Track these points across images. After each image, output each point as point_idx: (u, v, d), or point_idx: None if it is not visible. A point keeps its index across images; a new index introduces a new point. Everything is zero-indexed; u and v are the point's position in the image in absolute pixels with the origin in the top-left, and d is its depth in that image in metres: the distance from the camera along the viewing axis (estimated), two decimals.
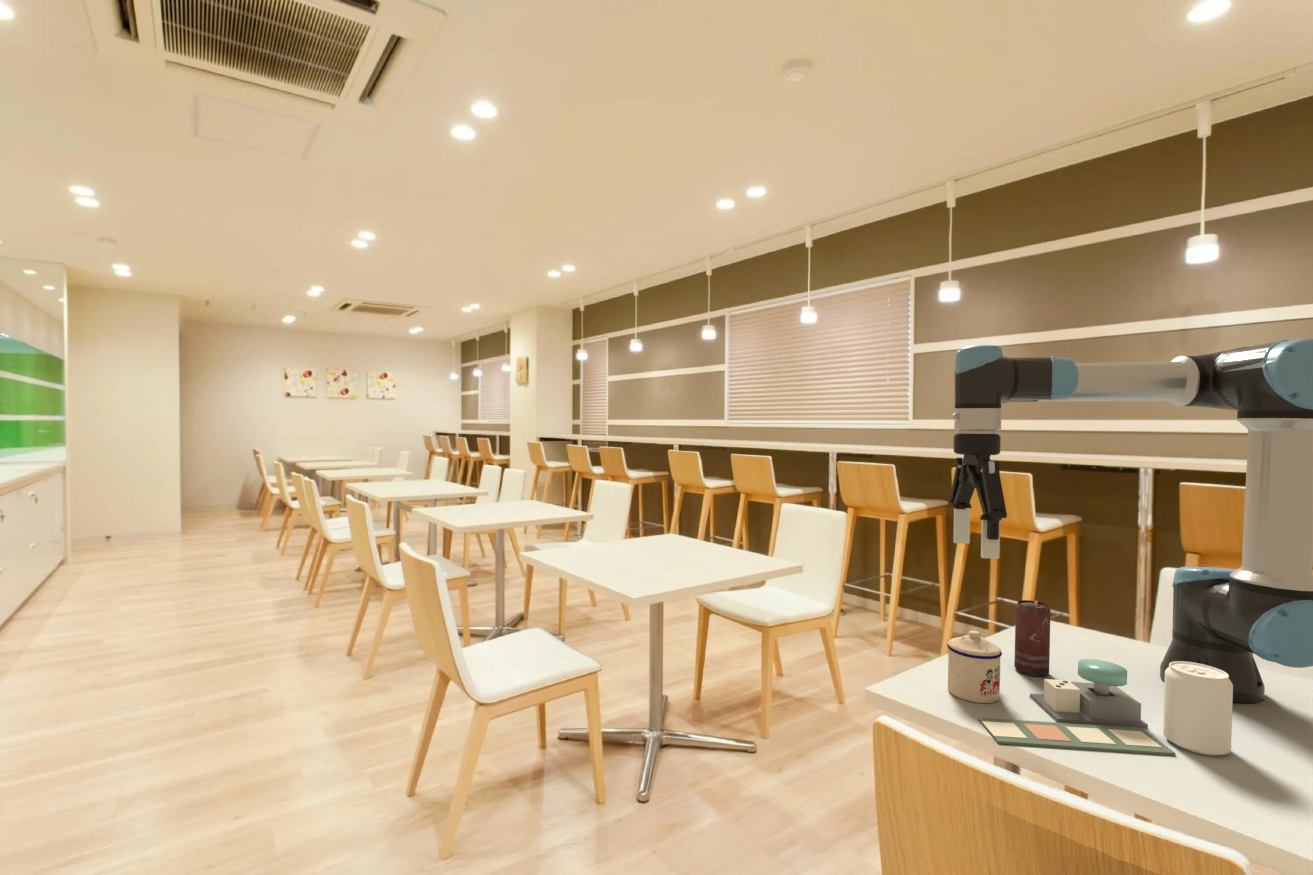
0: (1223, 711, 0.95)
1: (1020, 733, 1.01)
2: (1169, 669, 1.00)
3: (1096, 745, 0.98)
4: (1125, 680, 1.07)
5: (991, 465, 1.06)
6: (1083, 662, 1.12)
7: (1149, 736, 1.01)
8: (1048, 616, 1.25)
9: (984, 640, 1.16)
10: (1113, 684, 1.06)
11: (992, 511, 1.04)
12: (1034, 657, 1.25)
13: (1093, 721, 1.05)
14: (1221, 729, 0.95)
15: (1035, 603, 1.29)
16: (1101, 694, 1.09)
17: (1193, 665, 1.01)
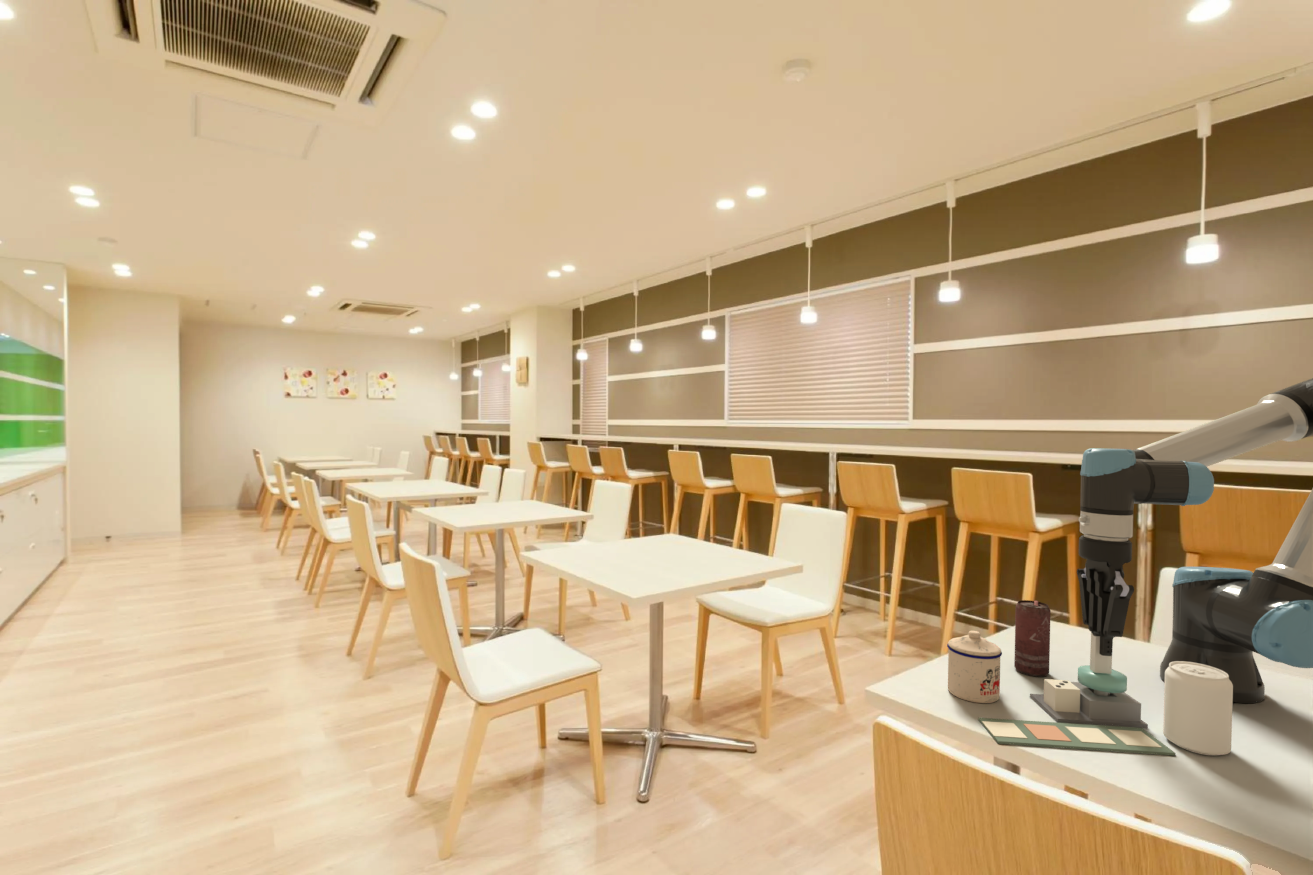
0: (1223, 711, 0.95)
1: (1020, 733, 1.01)
2: (1169, 669, 1.00)
3: (1096, 745, 0.98)
4: (1125, 687, 1.07)
5: (1125, 591, 1.03)
6: (1083, 668, 1.12)
7: (1149, 736, 1.01)
8: (1048, 616, 1.25)
9: (984, 640, 1.16)
10: (1113, 691, 1.06)
11: (1108, 633, 1.06)
12: (1034, 657, 1.25)
13: (1093, 721, 1.05)
14: (1221, 729, 0.95)
15: (1035, 603, 1.29)
16: None
17: (1193, 665, 1.01)
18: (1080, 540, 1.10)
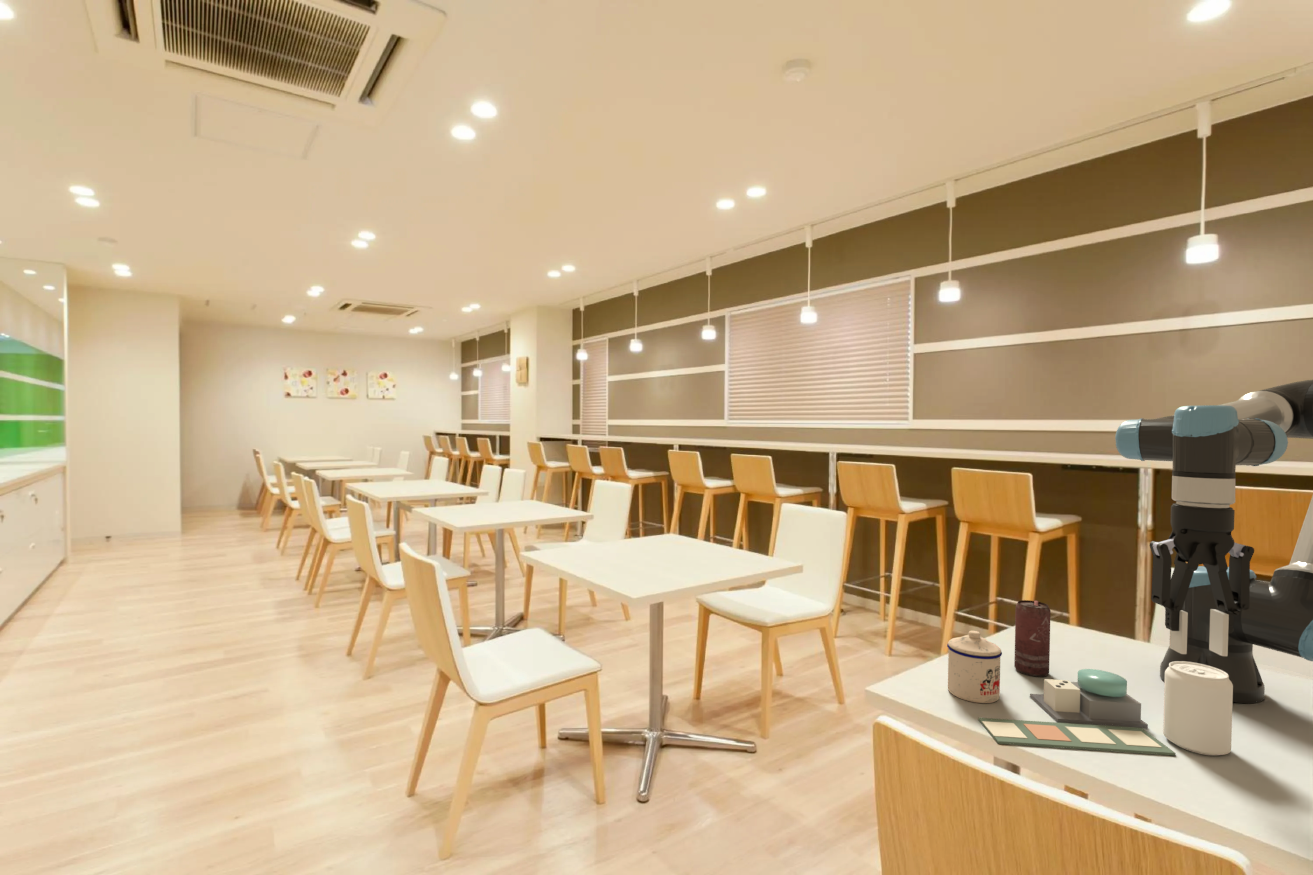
0: (1223, 711, 0.95)
1: (1020, 733, 1.01)
2: (1169, 669, 1.00)
3: (1096, 745, 0.98)
4: (1125, 690, 1.07)
5: (1154, 548, 0.99)
6: (1083, 672, 1.12)
7: (1149, 736, 1.01)
8: (1048, 616, 1.25)
9: (984, 640, 1.16)
10: (1113, 694, 1.06)
11: (1152, 597, 1.00)
12: (1034, 657, 1.25)
13: (1093, 721, 1.05)
14: (1221, 729, 0.95)
15: (1035, 603, 1.29)
16: None
17: (1193, 665, 1.01)
18: None
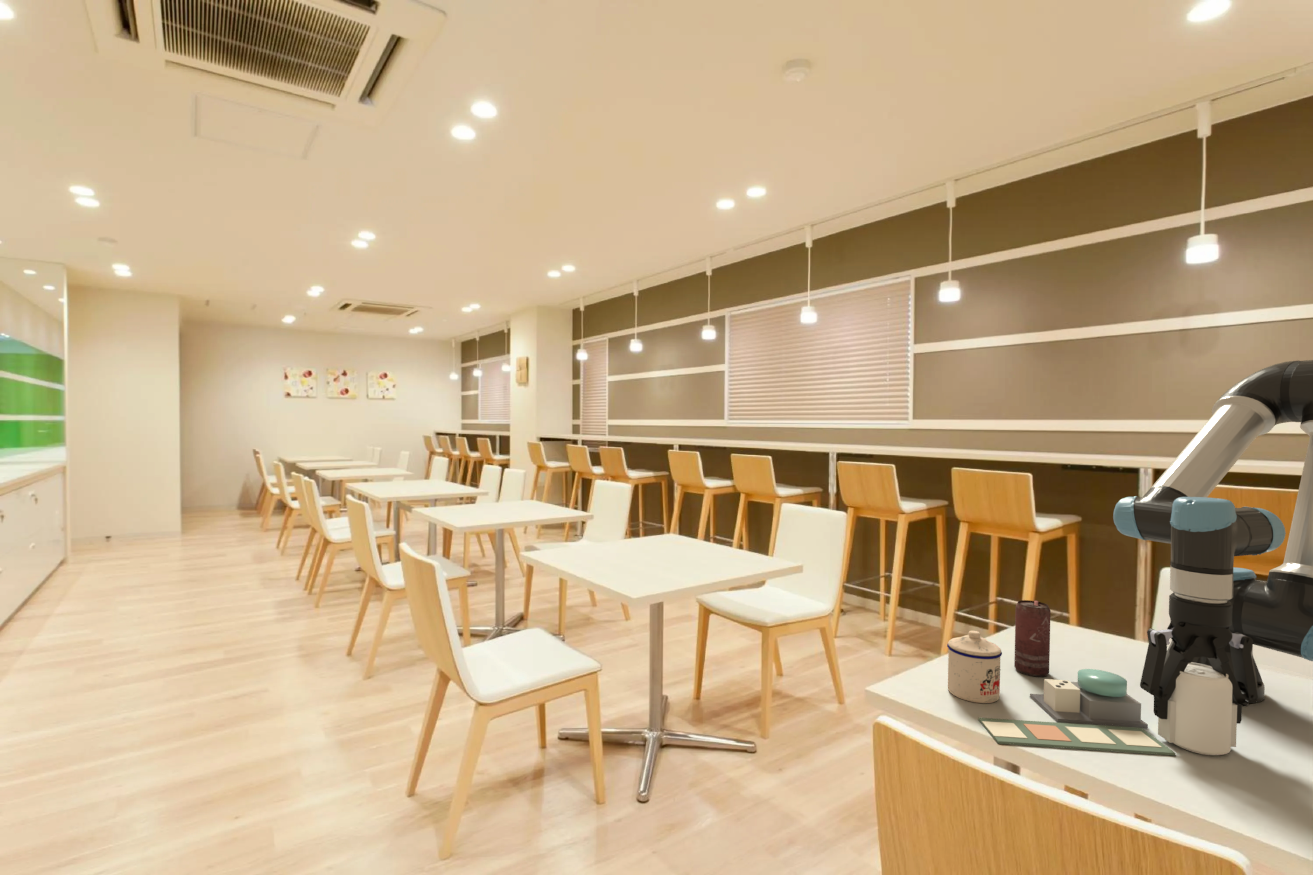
0: (1222, 711, 0.95)
1: (1020, 733, 1.01)
2: None
3: (1096, 745, 0.98)
4: (1125, 690, 1.07)
5: (1152, 635, 0.99)
6: (1083, 672, 1.12)
7: (1149, 736, 1.01)
8: (1048, 616, 1.25)
9: (984, 640, 1.16)
10: (1113, 694, 1.06)
11: (1141, 683, 1.01)
12: (1034, 657, 1.25)
13: (1093, 721, 1.05)
14: (1220, 728, 0.95)
15: (1035, 603, 1.29)
16: None
17: (1193, 665, 1.01)
18: None
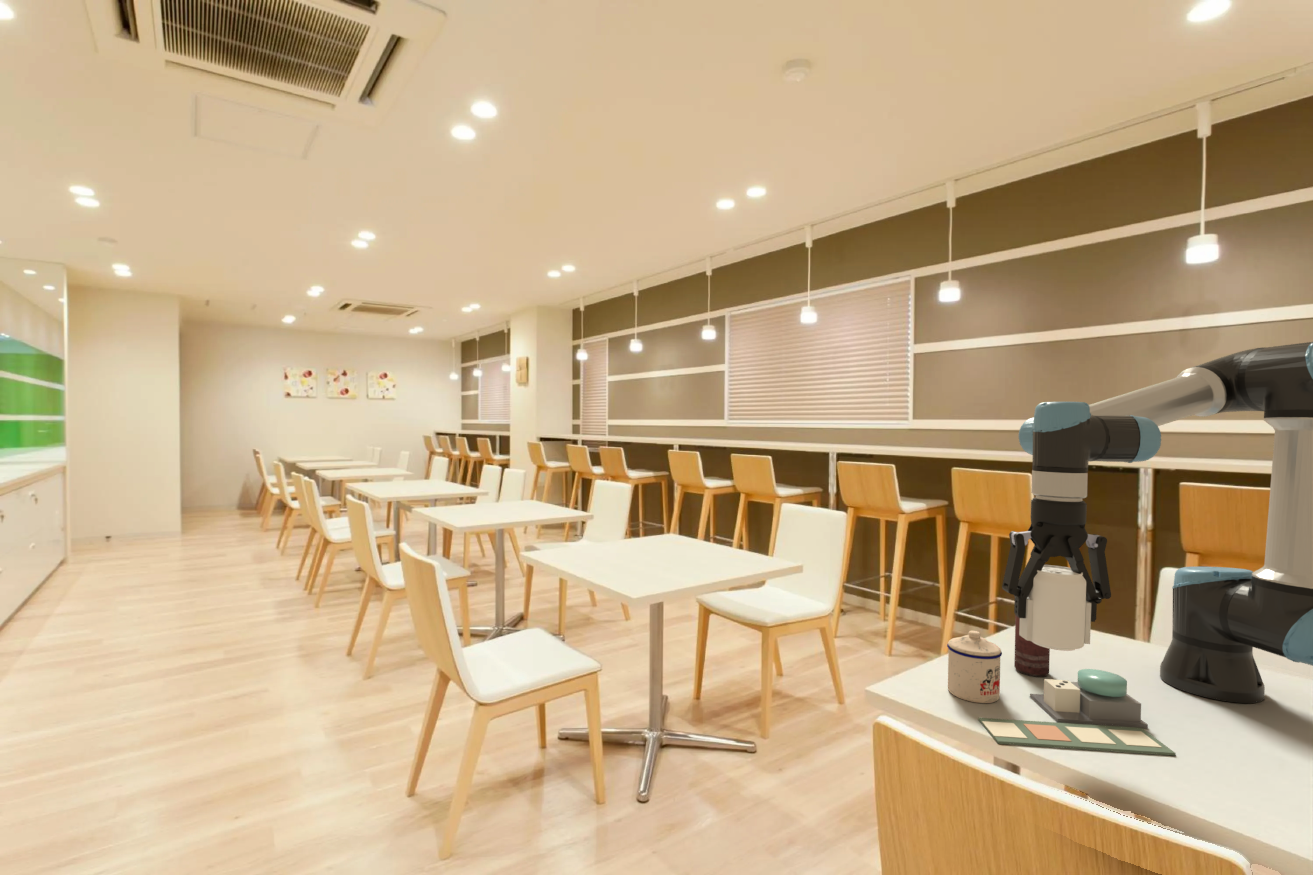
0: (1074, 607, 0.97)
1: (1020, 733, 1.01)
2: None
3: (1096, 745, 0.98)
4: (1125, 690, 1.07)
5: (1012, 537, 1.02)
6: (1083, 672, 1.12)
7: (1149, 736, 1.01)
8: None
9: (984, 640, 1.16)
10: (1113, 694, 1.06)
11: (1003, 584, 1.03)
12: (1034, 657, 1.25)
13: (1093, 721, 1.05)
14: (1072, 623, 0.97)
15: None
16: None
17: (1054, 568, 1.03)
18: None
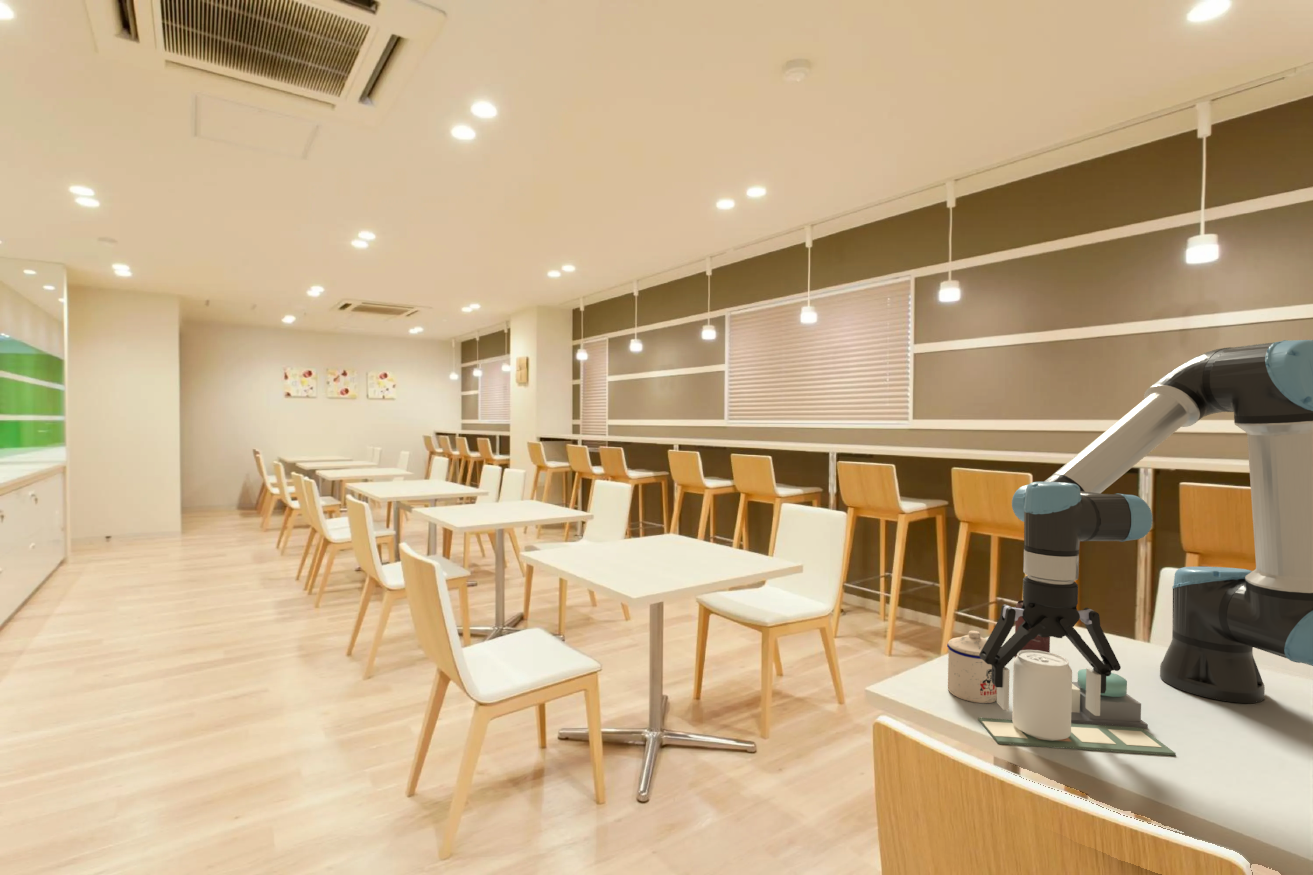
0: (1060, 698, 0.98)
1: (1020, 733, 1.01)
2: (1016, 657, 1.03)
3: (1096, 745, 0.98)
4: (1125, 690, 1.07)
5: (1004, 610, 1.02)
6: (1083, 672, 1.12)
7: (1149, 736, 1.01)
8: None
9: (984, 640, 1.16)
10: (1113, 694, 1.06)
11: (981, 652, 1.03)
12: None
13: (1093, 721, 1.05)
14: (1058, 714, 0.98)
15: None
16: None
17: (1041, 653, 1.04)
18: None
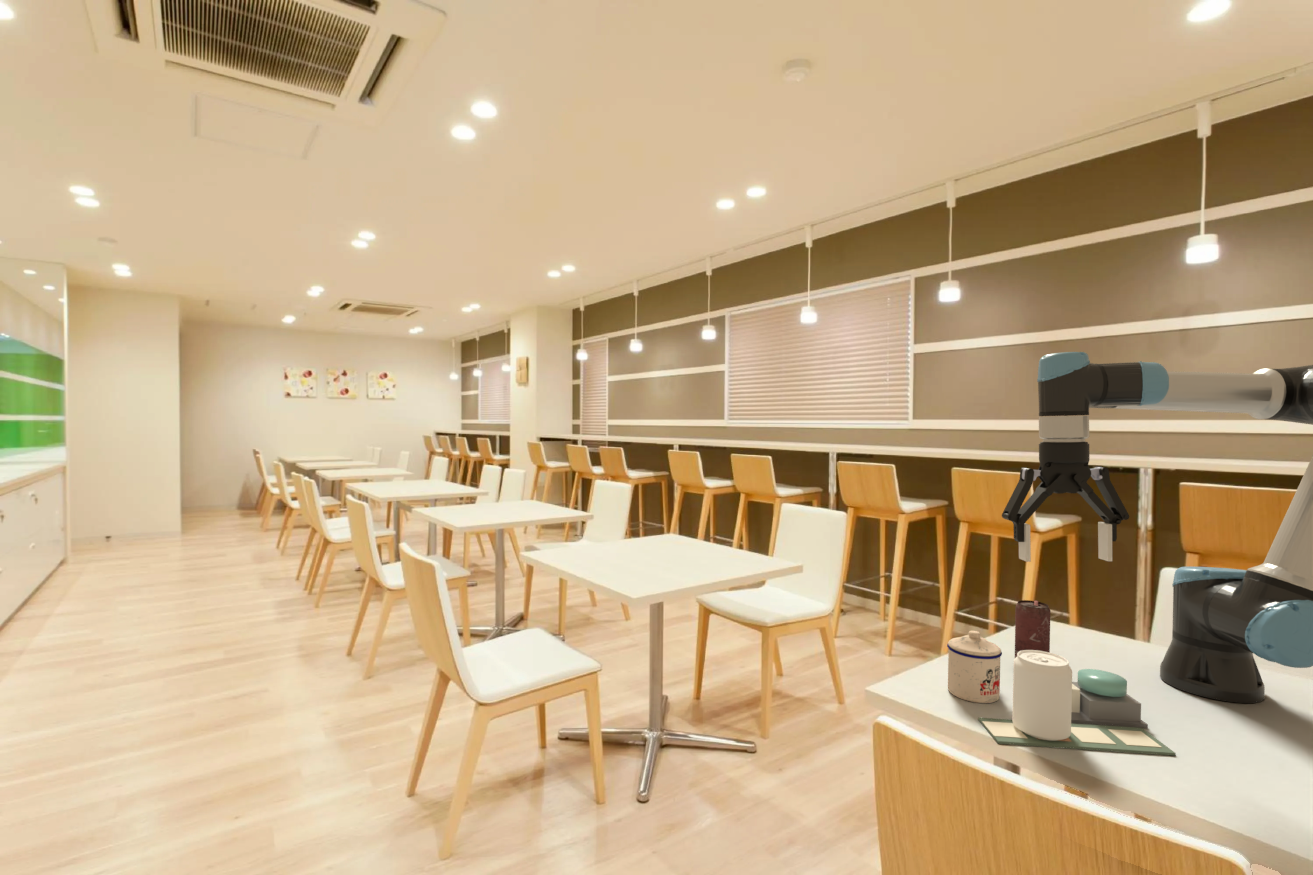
0: (1060, 698, 0.98)
1: (1020, 733, 1.01)
2: (1016, 657, 1.03)
3: (1096, 745, 0.98)
4: (1125, 690, 1.07)
5: (1023, 472, 1.12)
6: (1083, 672, 1.12)
7: (1149, 736, 1.01)
8: (1048, 616, 1.25)
9: (984, 640, 1.16)
10: (1113, 694, 1.06)
11: (1003, 512, 1.13)
12: None
13: (1093, 721, 1.05)
14: (1058, 714, 0.98)
15: (1035, 603, 1.29)
16: None
17: (1041, 654, 1.04)
18: None
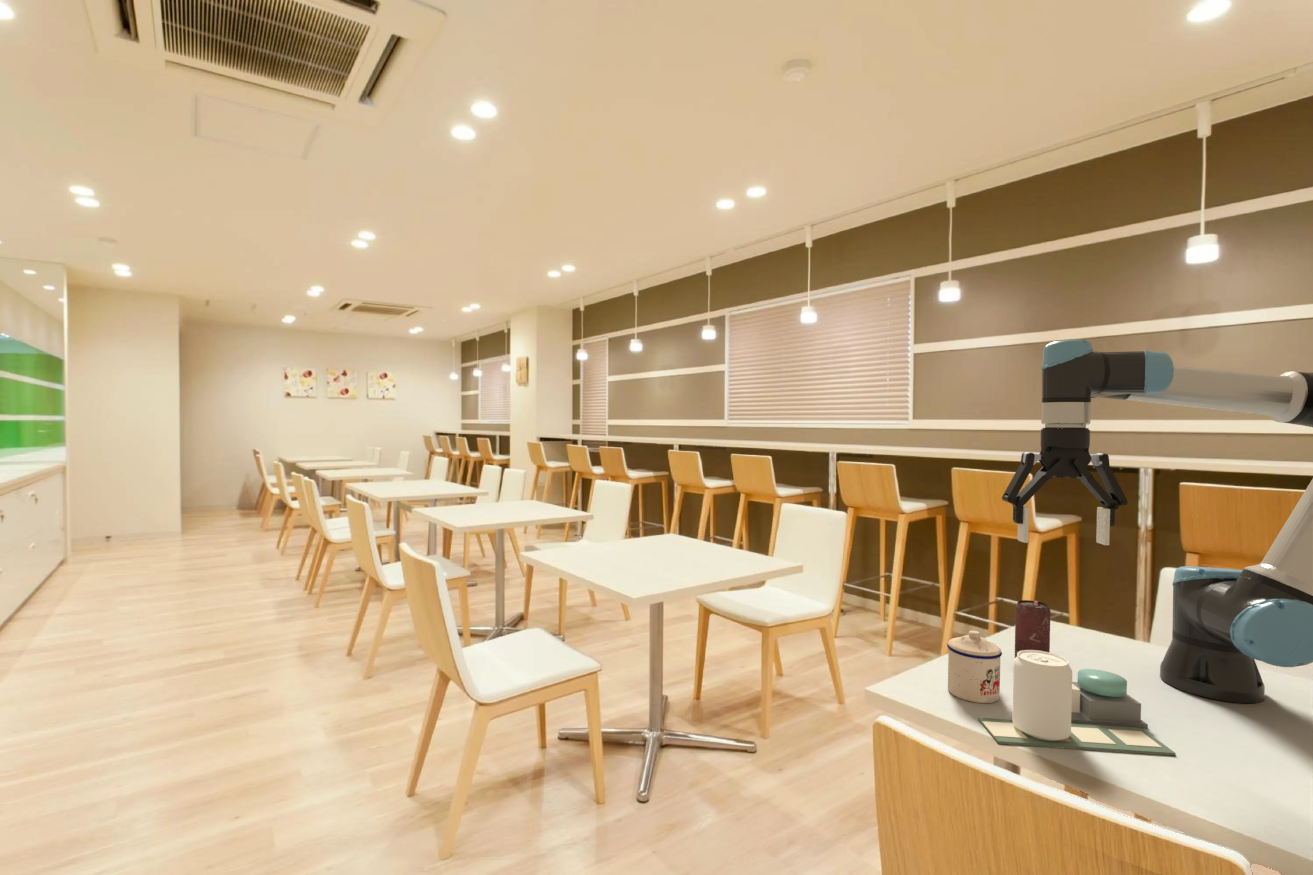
0: (1060, 698, 0.98)
1: (1020, 733, 1.01)
2: (1016, 657, 1.03)
3: (1096, 745, 0.98)
4: (1125, 690, 1.07)
5: (1024, 456, 1.15)
6: (1083, 672, 1.12)
7: (1149, 736, 1.01)
8: (1048, 616, 1.25)
9: (984, 640, 1.16)
10: (1113, 694, 1.06)
11: (1003, 495, 1.17)
12: None
13: (1093, 721, 1.05)
14: (1058, 714, 0.98)
15: (1035, 603, 1.29)
16: None
17: (1041, 654, 1.04)
18: None
